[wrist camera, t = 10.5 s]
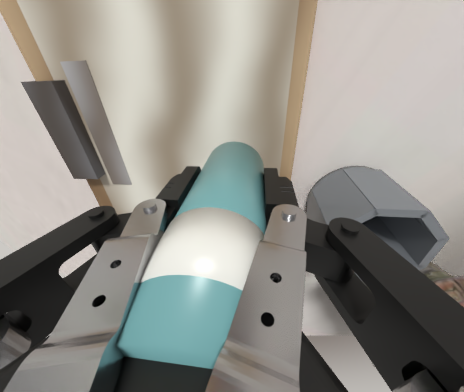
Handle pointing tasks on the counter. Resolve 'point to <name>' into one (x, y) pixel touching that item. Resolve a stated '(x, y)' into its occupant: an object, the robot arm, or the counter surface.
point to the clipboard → (163, 84)
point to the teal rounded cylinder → (200, 264)
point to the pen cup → (378, 211)
